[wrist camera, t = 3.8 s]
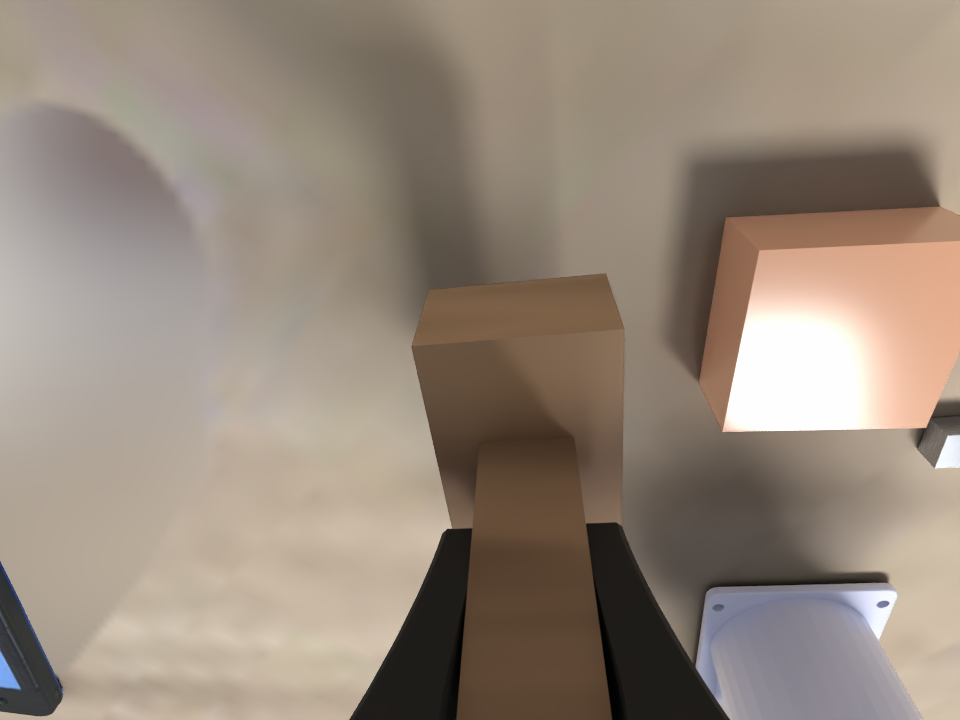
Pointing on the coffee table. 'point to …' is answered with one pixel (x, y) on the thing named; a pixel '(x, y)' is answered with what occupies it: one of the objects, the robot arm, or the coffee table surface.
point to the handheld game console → (23, 661)
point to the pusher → (527, 481)
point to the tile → (833, 320)
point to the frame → (942, 442)
